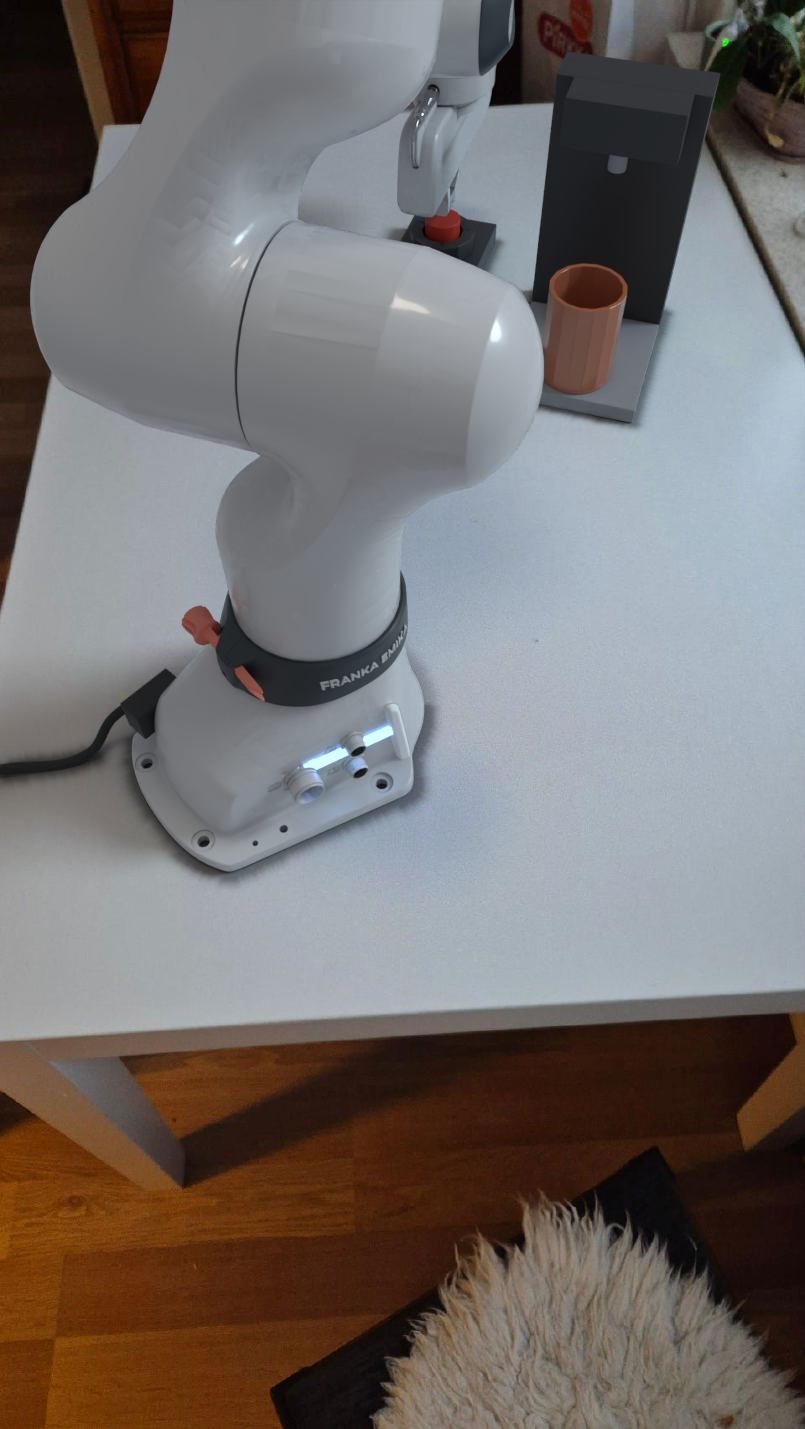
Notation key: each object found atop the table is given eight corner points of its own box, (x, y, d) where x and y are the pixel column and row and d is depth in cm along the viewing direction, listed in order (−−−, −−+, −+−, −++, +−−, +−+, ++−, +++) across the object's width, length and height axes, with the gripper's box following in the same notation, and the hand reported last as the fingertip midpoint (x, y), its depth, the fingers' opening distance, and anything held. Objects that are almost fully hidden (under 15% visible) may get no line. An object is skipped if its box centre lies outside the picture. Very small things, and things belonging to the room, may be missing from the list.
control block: (468, 303, 104) (470, 268, 101) (385, 288, 106) (384, 253, 103) (495, 243, 110) (498, 207, 107) (416, 229, 112) (416, 194, 108)
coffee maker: (632, 423, 95) (688, 183, 75) (497, 396, 97) (518, 156, 77) (663, 313, 103) (720, 73, 84) (539, 290, 105) (567, 51, 86)
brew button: (454, 246, 104) (454, 230, 102) (420, 240, 104) (420, 224, 103) (463, 227, 106) (464, 211, 104) (430, 221, 106) (431, 205, 105)
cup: (572, 404, 94) (586, 321, 86) (524, 366, 97) (533, 282, 89) (625, 375, 96) (643, 291, 88) (577, 338, 99) (590, 254, 91)
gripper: (448, 126, 85) (444, 273, 97) (509, 15, 96) (498, 160, 107) (377, 115, 86) (382, 262, 98) (445, 6, 97) (441, 151, 108)
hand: (443, 208), depth 103 cm, fingers closed
